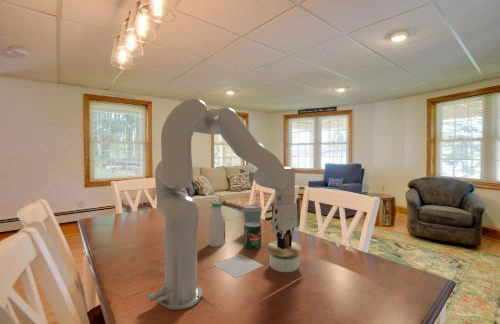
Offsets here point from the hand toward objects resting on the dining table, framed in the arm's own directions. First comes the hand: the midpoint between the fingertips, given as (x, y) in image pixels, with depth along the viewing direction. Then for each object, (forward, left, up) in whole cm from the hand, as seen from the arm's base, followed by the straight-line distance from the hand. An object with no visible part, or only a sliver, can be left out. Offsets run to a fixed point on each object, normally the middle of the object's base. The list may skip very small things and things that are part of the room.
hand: (284, 246), depth 97 cm
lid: (0, 0, -1) cm, 1 cm away
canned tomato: (+4, +22, -8) cm, 24 cm away
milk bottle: (-6, +36, -8) cm, 37 cm away
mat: (-13, +12, -8) cm, 19 cm away
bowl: (0, 0, -8) cm, 8 cm away
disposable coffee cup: (+18, +37, -8) cm, 42 cm away
